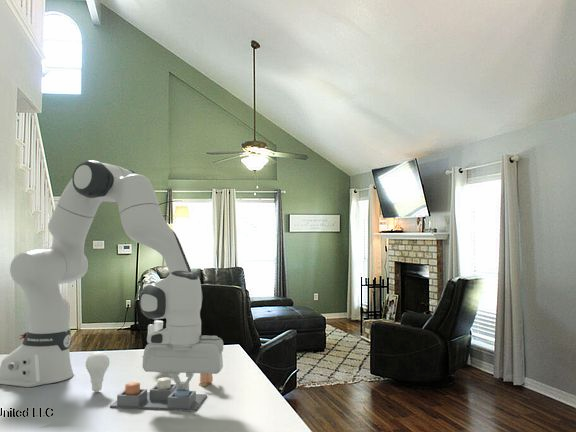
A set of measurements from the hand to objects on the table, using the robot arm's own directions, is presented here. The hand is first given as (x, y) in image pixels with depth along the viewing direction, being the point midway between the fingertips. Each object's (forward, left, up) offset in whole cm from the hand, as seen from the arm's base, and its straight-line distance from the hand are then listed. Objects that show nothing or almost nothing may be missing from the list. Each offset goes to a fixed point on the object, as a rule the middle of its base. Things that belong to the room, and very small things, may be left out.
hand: (182, 389), depth 119 cm
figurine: (-20, +36, -4) cm, 41 cm away
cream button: (-7, +5, -2) cm, 9 cm away
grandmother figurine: (+1, +19, -4) cm, 20 cm away
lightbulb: (-27, +8, -4) cm, 28 cm away
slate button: (0, 0, -3) cm, 3 cm away
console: (-7, +3, -4) cm, 8 cm away
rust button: (-13, 0, -2) cm, 13 cm away
